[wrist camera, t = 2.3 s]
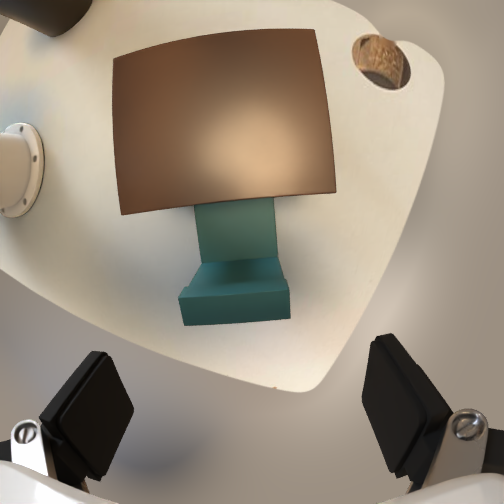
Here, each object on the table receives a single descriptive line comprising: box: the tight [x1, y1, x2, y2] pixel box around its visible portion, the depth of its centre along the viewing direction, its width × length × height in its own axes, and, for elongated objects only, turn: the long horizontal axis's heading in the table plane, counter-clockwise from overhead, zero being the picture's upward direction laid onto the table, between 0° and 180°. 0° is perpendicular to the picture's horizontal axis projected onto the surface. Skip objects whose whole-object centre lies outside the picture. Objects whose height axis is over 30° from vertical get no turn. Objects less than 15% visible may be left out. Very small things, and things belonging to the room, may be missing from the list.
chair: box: [178, 197, 291, 326], centre depth 20 cm, size 8×6×13 cm
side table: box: [112, 29, 336, 215], centre depth 19 cm, size 12×10×12 cm
